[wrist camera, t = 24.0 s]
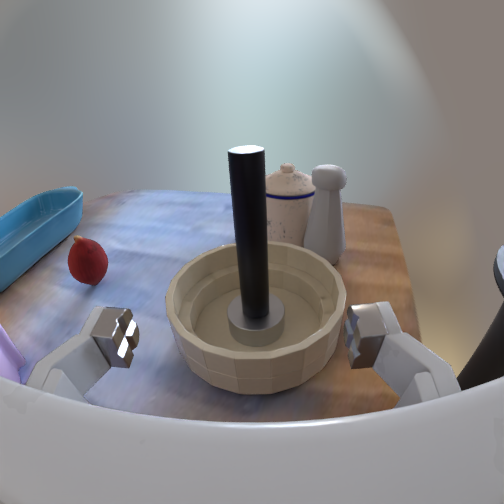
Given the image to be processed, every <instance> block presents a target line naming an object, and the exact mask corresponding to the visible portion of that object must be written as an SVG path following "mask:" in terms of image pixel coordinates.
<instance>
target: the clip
mask: <svg viewBox="0 0 504 504" xmlns="http://www.w3.org/2000/svg"><path fill="white" fill-rule="evenodd" d="M25 363H26V360H25V358H24V357H23V356H22V354H21V353H20V352H19V350H18V349H17V348H16V346H15V345H14V343H13V342H12V341H11V339H10V338H9V336H8V335H7V333H6V332H5V330H4V329H3V327H2V326H1V324H0V376H2V377H4V378H7V379H9V380H12V381H15V382H17V383H20V384H21V380H20V376H19V373H18V370H19V369H20V368H21V367H22V366H24V365H25Z"/></svg>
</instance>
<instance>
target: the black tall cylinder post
mask: <svg viewBox="0 0 504 504" xmlns="http://www.w3.org/2000/svg"><path fill="white" fill-rule="evenodd" d="M228 161H229V173H230V185H231V196H232V207H233V219H234V230H235V240H236V251H237V262H238V272H239V282H240V292H241V295H239V296H237V297H236V298H234V299H233V300H232V301H231V302H230V304H229V306H228V309H227V317H228V323H229V330H230V333H231V335H232V337H233V338H234V339H235V340H236V341H238V342H239V343H241V344H243V345H246V346H251V347H261V346H266V345H269V344H271V343H273V342H275V341H276V340H277V339H278V338H279V337H280V336H281V335H282V333H283V331H284V324H285V307H284V304H283V303H282V301H281V300H280V299H279V298H278V297H277V296H275V295H273V294H271V293H269V272H268V236H267V205H266V177H265V153H264V148H262V147H259V146H239V147H234V148H231V149H229V150H228Z"/></svg>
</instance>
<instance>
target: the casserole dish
mask: <svg viewBox="0 0 504 504" xmlns="http://www.w3.org/2000/svg"><path fill="white" fill-rule="evenodd" d="M82 199H83V193H82V191H79V190H77V188H76V187H73V186H69V187H61V188H58V189H54V190H50V191H46V192H43V193H40V194H38V195H35V196H33V197H31V198H29V199H28V200H26V201H24V202H23V203H21V204H19V205H18V206H16V207H15V208H13V209H12V210H10V211H9V212H7V213H6V214H4V215H3V216H1V217H0V293H1V292H2V291H4V290H5V289H6V288H7V287H8V286H10V285H11V284H12V283H13V282H14V281H16V280H17V279H18V278H19V277H20V276H21V275H22V274H24V273H25V272H26V271H27V270H28V269H29V268H30V267H32V266H33V265H34V264H35V263H36V262H37V261H38V260H39V259H40V258H41V257H43V256H44V255H45V254H47V253H48V252H49V251H50V250H51V249H53V248H54V247H55V246H56V245H57V244H59V243H60V242H61V241H62V240H64V239H65V238H66V237H67V236H68V235H70V234H71V233H72V232H73V231H74V230H75V229H76V227H77V225H78V224H79V223H80V220H81V217H82V208H83V201H82Z"/></svg>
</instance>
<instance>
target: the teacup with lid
mask: <svg viewBox="0 0 504 504" xmlns="http://www.w3.org/2000/svg"><path fill="white" fill-rule="evenodd" d="M265 177H266V205H267V236H268V240H269V241H276V242H284V243H290V244H294V245H297V246H300V247H303V248H304V236H305V232H306V228H307V224H308V220H309V215H310V211H311V207H312V202H313V198H314V194H315V189H316V187H315V186H314V185H313V184H312V176H309V175H306V174H303V173H302V172H300V171H298V170H295V166H294V165H293V164H290V163H284V164H282V165H281V169H280V170H278V171H275V172H274V173H272V174H269V175H265Z"/></svg>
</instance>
